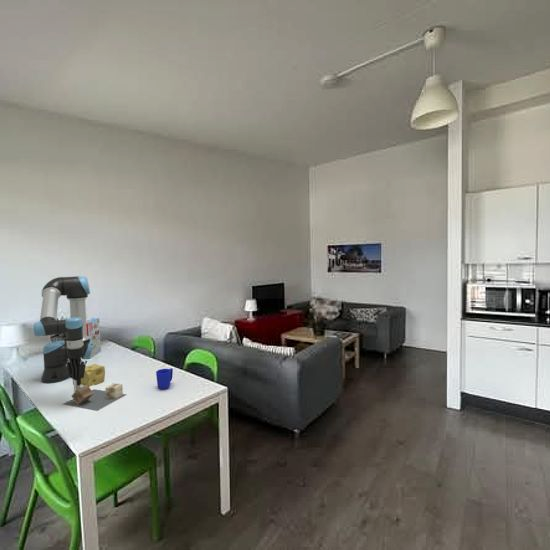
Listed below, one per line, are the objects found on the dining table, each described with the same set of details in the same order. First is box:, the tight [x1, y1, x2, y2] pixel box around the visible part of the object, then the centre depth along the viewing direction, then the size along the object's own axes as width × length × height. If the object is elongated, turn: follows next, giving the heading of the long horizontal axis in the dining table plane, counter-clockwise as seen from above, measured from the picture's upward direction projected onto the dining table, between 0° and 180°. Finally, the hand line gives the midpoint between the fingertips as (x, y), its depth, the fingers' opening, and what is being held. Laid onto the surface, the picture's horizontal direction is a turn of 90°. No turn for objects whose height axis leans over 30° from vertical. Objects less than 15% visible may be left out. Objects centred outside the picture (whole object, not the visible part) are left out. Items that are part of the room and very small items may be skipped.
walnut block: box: [71, 385, 93, 405], centre depth 173 cm, size 6×6×6 cm
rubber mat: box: [62, 388, 128, 412], centre depth 177 cm, size 24×20×1 cm
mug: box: [155, 367, 174, 390], centre depth 194 cm, size 8×12×10 cm
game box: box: [83, 317, 102, 360], centre depth 256 cm, size 21×6×27 cm, turn 6°
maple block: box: [104, 382, 124, 399], centre depth 180 cm, size 6×6×6 cm
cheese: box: [81, 363, 106, 388], centre depth 201 cm, size 10×11×10 cm
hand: (77, 390), depth 174 cm, fingers closed
